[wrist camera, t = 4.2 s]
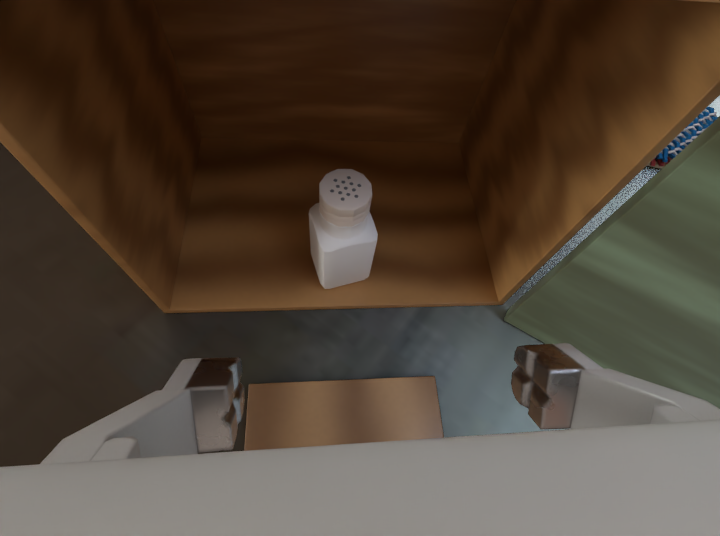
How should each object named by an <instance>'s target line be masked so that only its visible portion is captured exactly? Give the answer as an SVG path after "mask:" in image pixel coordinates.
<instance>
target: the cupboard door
mask: <svg viewBox="0 0 720 536" xmlns="http://www.w3.org/2000/svg"><path fill="white" fill-rule="evenodd" d="M504 321H506V322H508V323H510V324H511V325H513V326H515V327H517V328H519V329H520V330H522V331H524V332H526V333H527V334H529V335H531V336H533V337H534V338H536V339H538V340H540V341H542V342H543V343H545V344H558V343H568V344H571V345H572V346H573V347H575V348H576V349H577V350H579V351H580V352H582V353H583V354H584V355H586V356H587V357H588V358H590V359H591V360H593V361H594V362H595V363H597V364H598V365H599V366H601V367H602V368H603V369H607V368H609V369H612V370H615V371H618V372H621V373H624V374H627V375H630V376H633V377H636V378H639V379H642V380H645V381H648V382H651V383H654V384H657V385H660V386H663V387H666V388H669V389H672V390H675V391H678V392H681V393H684V394H687V395H691V396H694V397H697V398H700V399H703V400H706V401H708V402H709V403H711V404H713V405H714V406H716V407H717V408H719V409H720V116H719V117H718V118H717V119H716V120H715V121H714V122H713V123H712V124H711V125H710V126H709V127H707V128H706V129H705V130H704V131H703V132H702V133H701V134H700V135H699V136H698V137H696V138H695V139H694V140H693V141H692V142H691V143H690V144H689V145H688V146H687V147H685V148H684V149H683V150H682V151H681V152H680V153H679V154H678V155H677V156H676V157H675V158H673V159H672V160H671V161H670V162H669V163H668V164H667V165H666V166H665V167H664V168H662V169H661V170H660V171H659V172H658V173H657V174H656V175H655V176H654V177H653V178H651V179H650V180H649V181H648V182H647V183H646V184H645V185H644V186H643V187H642V188H641V189H639V190H638V191H637V192H636V193H635V194H634V195H633V196H632V197H631V198H630V199H628V200H627V201H626V202H625V203H624V204H623V205H622V206H621V207H620V208H619V209H617V210H616V211H615V212H614V213H613V214H612V215H611V216H610V217H609V218H608V219H607V220H605V221H604V222H603V223H602V224H601V225H600V226H599V227H598V228H597V229H596V230H594V231H593V232H592V233H591V234H590V235H589V236H588V237H587V238H586V239H585V240H583V241H582V242H581V243H580V244H579V245H578V246H577V247H576V248H575V249H574V250H573V251H571V252H570V253H569V254H568V255H567V256H566V257H565V258H564V259H563V260H562V261H560V262H559V263H558V264H557V265H556V266H555V267H554V268H553V269H552V270H551V271H549V272H548V273H547V274H546V275H545V276H544V277H543V278H542V279H541V280H540V281H539V282H537V283H536V284H535V285H534V286H533V287H532V288H531V289H530V290H529V291H528V292H526V293H525V294H524V295H523V296H522V297H521V298H520V299H519V300H518V301H517V302H515V303H514V304H513V305H512V306H511V307H510V308H509V309H508V311H507V313H506V315H505V318H504Z"/></svg>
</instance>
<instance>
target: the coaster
mask: <svg viewBox="0 0 720 536" xmlns="http://www.w3.org/2000/svg"><path fill="white" fill-rule="evenodd" d="M431 438H444V434H443V427H442V420H441V414H440V407H439V401H438V394H437V387H436V381H435V376H423V377H400V378H377V379H354V380H330V381H307V382H284V383H261V384H249V391H248V405H247V418H246V432H245V446H244V451H249V450H264V449H279V448H295V447H310V446H325V445H340V444H355V443H371V442H386V441H401V440H416V439H431Z"/></svg>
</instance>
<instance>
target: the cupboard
mask: <svg viewBox="0 0 720 536" xmlns="http://www.w3.org/2000/svg"><path fill="white" fill-rule="evenodd" d="M719 95H720V0H0V142H1V143H2V144H3V145H4V146H5V147H6V148H7V149H8V150H9V151H10V152H11V154H12V155H13V156H14V157H15V158H16V159H17V160H18V161H19V162H20V163H21V164H22V165H23V166H24V167H25V168H26V169H27V170H28V171H29V172H30V173H31V174H32V175H33V176H34V177H35V179H36V180H37V181H38V182H39V183H40V184H41V185H42V186H43V187H44V188H45V189H46V190H47V191H48V192H49V193H50V194H51V195H52V196H53V197H54V198H55V199H56V200H57V201H58V202H59V204H60V205H61V206H62V207H63V208H64V209H65V210H66V211H67V212H68V213H69V214H70V215H71V216H72V217H73V218H74V219H75V220H76V221H77V222H78V223H79V224H80V225H81V226H82V227H83V229H84V230H85V231H86V232H87V233H88V234H89V235H90V236H91V237H92V238H93V239H94V240H95V241H96V242H97V243H98V244H99V245H100V246H101V247H102V248H103V249H104V250H105V251H106V252H107V254H108V255H109V256H110V257H111V258H112V259H113V260H114V261H115V262H116V263H117V264H118V265H119V266H120V267H121V268H122V269H123V270H124V271H125V272H126V273H127V274H128V275H129V276H130V277H131V279H132V280H133V281H134V282H135V283H136V284H137V285H138V286H139V287H140V288H141V289H142V290H143V291H144V292H145V293H146V294H147V295H148V296H149V297H150V298H151V299H152V300H153V301H154V303H155V304H156V305H157V306H158V307H159V308H160V309H161V310H162V311H163V312H164V313H191V312H232V311H273V310H314V309H355V308H396V307H437V306H478V305H503V304H504V303H505V302H506V301H507V300H508V299H509V298H510V297H511V296H512V295H513V294H514V293H515V292H516V291H517V290H518V289H519V288H520V287H521V286H522V285H523V284H524V283H525V282H526V281H528V280H529V279H530V278H531V277H532V276H533V275H534V274H535V273H536V272H537V271H538V270H539V269H540V268H541V267H542V266H543V265H544V264H545V263H546V262H547V261H548V260H549V259H550V258H551V257H552V256H553V255H554V254H555V253H557V252H558V251H559V250H560V249H561V248H562V247H563V246H564V245H565V244H566V243H567V242H568V241H569V240H570V239H571V238H572V237H573V236H574V235H575V234H576V233H577V232H578V231H579V230H580V229H581V228H582V227H583V226H584V225H586V224H587V223H588V222H589V221H590V220H591V219H592V218H593V217H594V216H595V215H596V214H597V213H598V212H599V211H600V210H601V209H602V208H603V207H604V206H605V205H606V204H607V203H608V202H609V201H610V200H611V199H612V198H613V197H615V196H616V195H617V194H618V193H619V192H620V191H621V190H622V189H623V188H624V187H625V186H626V185H627V184H628V183H629V182H630V181H631V180H632V179H633V178H634V177H635V176H636V175H637V174H638V173H639V172H640V171H641V170H642V169H644V168H645V167H646V166H647V165H648V164H649V163H650V162H651V161H652V160H653V159H654V158H655V157H656V156H657V155H658V154H659V153H660V152H661V151H662V150H663V149H664V148H665V147H666V146H667V145H668V144H669V143H670V142H671V141H673V140H674V139H675V138H676V137H677V136H678V135H679V134H680V133H681V132H682V131H683V130H684V129H685V128H686V127H687V126H688V125H689V124H690V123H691V122H692V121H693V120H694V119H695V118H696V117H697V116H698V115H699V114H700V113H702V112H703V111H704V110H705V109H706V108H707V107H708V106H709V105H710V104H711V103H712V102H713V101H714V100H715V99H716V98H717V97H718V96H719ZM336 169H353V170H355V171H357V172H359V173H362V174H364V176H365V177H366V178H367V179H368V180H369V182H370V183H371V186H372V199H371V205H370V214H371V216H372V219H373V221H374V224H375V227H376V230H377V233H378V237H377V244H376V248H375V252H374V257H373V261H372V266H371V270H370V274H369V277H368V278H366V279H365V280H362V281H358V282H354V283H350V284H346V285H343V286H339V287H335V288H331V289H324V287H323V286H322V285H321V284H320V281H319V278H318V275H317V272H316V268H315V265H314V262H313V259H312V256H311V248H310V229H309V210H310V208H311V207H312V206H314V205H315V204H317V203H319V183H320V182H321V180H322V179H323V178H324V176H325V175H326V174H327V173H329V172H332V171H334V170H336Z"/></svg>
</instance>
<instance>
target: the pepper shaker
mask: <svg viewBox="0 0 720 536" xmlns="http://www.w3.org/2000/svg"><path fill="white" fill-rule="evenodd" d="M371 199H372V186H371V183H370V182H369V180H368V179H367V178H366V177H365V176H364V174H362V173H359V172H357V171H355V170H353V169H336V170H334V171H332V172H329V173H327V174H326V175H325V176H324V178H323V179H322V180H321V182H320V183H319V203H317V204H315V205H314V206H312V207H311V208H310V210H309V229H310V248H311V256H312V259H313V262H314V265H315V268H316V272H317V275H318V278H319V281H320V284H321V285H322V286H323V287H324V289H331V288H335V287H339V286H343V285H346V284H350V283H354V282H358V281H362V280H365V279H366V278H368V277H369V274H370V270H371V266H372V261H373V257H374V252H375V248H376V244H377V237H378V233H377V230H376V227H375V224H374V221H373V219H372V216H371V214H370V205H371Z"/></svg>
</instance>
